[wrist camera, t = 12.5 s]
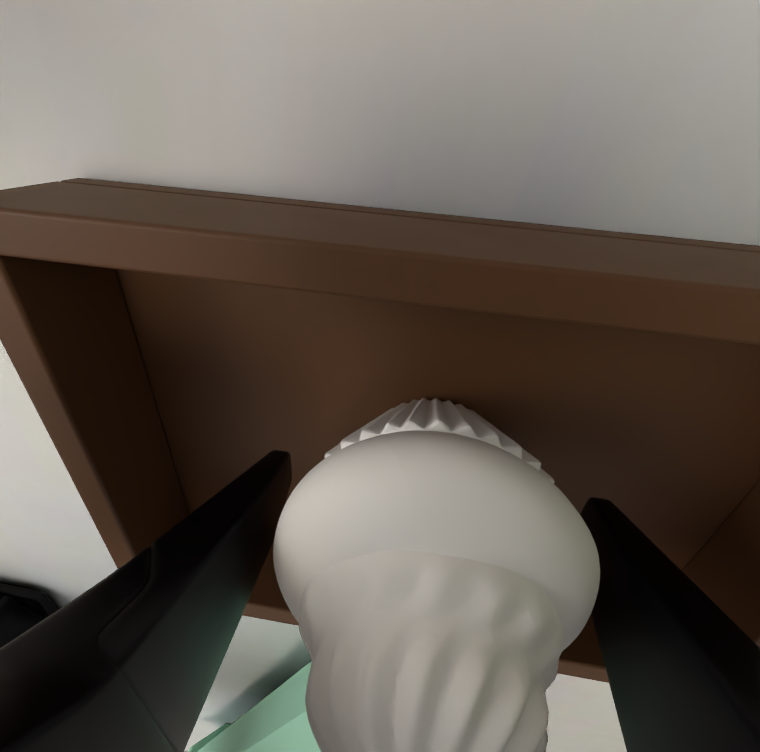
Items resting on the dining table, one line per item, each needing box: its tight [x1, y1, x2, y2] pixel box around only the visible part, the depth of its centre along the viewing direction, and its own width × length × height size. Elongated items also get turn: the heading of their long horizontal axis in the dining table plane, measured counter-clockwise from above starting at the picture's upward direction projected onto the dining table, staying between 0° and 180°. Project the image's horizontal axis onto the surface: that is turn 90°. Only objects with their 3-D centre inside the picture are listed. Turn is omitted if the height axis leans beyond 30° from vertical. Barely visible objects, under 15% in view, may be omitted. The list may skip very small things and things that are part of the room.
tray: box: [0, 178, 760, 683], centre depth 10 cm, size 12×18×3 cm, turn 86°
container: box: [188, 661, 321, 752], centre depth 20 cm, size 6×6×25 cm
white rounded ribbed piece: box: [273, 398, 600, 752], centre depth 8 cm, size 6×6×7 cm
